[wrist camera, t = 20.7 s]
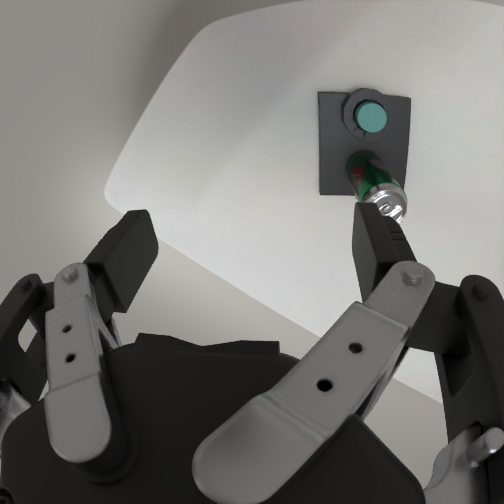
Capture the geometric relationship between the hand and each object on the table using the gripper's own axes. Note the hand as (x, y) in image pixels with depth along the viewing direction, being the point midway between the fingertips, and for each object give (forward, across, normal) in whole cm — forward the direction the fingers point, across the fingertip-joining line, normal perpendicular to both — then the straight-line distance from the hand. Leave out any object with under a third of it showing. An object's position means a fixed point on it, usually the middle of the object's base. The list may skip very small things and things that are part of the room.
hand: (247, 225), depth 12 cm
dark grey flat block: (+30, -11, +6) cm, 32 cm away
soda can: (+29, -11, +9) cm, 32 cm away
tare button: (+27, -11, +1) cm, 30 cm away
